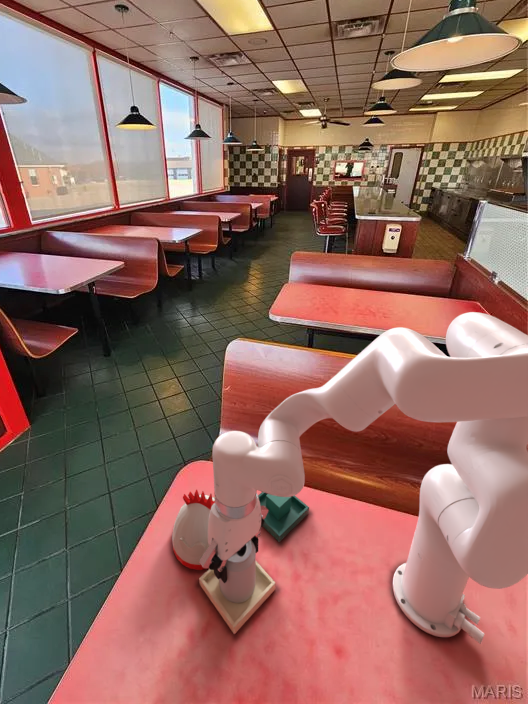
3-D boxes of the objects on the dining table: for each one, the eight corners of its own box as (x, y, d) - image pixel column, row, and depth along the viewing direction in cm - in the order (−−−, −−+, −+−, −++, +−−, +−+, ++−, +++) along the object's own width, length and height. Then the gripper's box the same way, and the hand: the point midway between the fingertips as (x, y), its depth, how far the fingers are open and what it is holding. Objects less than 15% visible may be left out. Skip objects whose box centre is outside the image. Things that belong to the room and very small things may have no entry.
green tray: (308, 513, 84) (309, 507, 83) (279, 542, 77) (279, 536, 76) (276, 486, 92) (276, 480, 91) (246, 510, 85) (246, 504, 84)
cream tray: (275, 589, 68) (275, 582, 67) (234, 634, 61) (234, 627, 60) (239, 548, 76) (239, 542, 75) (199, 584, 69) (198, 578, 68)
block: (290, 509, 84) (291, 496, 82) (278, 520, 81) (279, 507, 80) (277, 498, 87) (278, 485, 86) (265, 508, 84) (266, 495, 83)
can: (252, 610, 64) (252, 569, 60) (215, 601, 65) (212, 561, 61) (258, 569, 71) (258, 530, 66) (224, 562, 72) (222, 524, 68)
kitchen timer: (220, 577, 70) (218, 528, 64) (162, 560, 73) (155, 512, 68) (238, 518, 82) (237, 473, 77) (187, 506, 86) (183, 462, 80)
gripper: (255, 459, 67) (255, 520, 73) (182, 511, 56) (189, 577, 63) (283, 482, 62) (280, 546, 68) (208, 544, 51) (213, 612, 57)
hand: (236, 560), depth 65 cm, fingers closed on can, 7 cm apart
